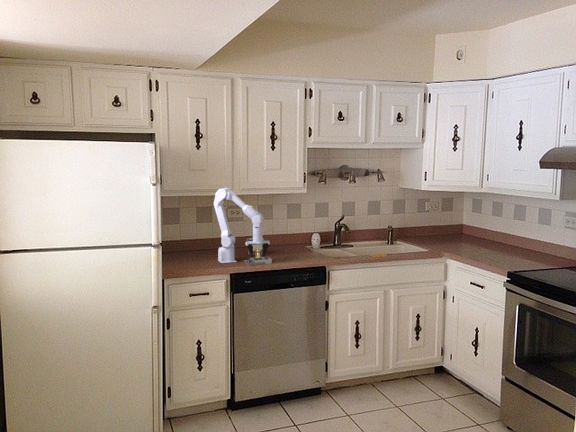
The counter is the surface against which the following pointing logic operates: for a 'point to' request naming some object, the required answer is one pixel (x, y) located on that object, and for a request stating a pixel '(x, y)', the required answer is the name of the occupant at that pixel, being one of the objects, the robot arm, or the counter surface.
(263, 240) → the food container
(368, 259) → the counter surface
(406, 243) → the counter surface
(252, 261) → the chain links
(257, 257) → the brass pin
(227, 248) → the robot arm
